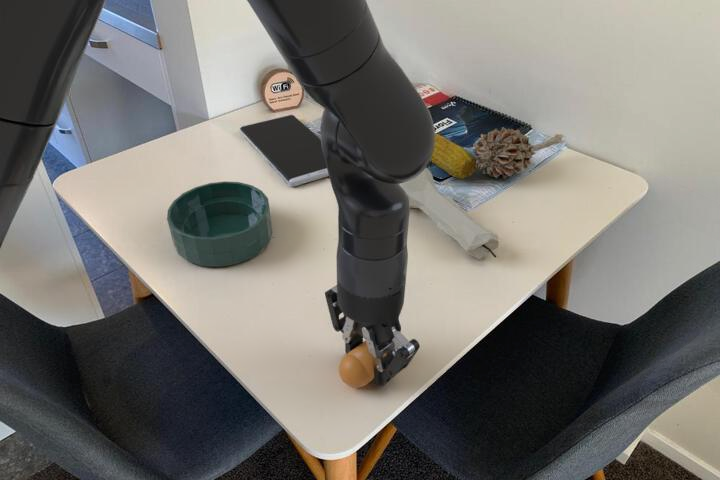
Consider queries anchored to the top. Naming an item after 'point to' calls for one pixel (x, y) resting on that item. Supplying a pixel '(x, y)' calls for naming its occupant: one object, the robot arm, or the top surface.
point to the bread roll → (357, 366)
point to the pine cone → (506, 151)
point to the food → (452, 158)
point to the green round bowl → (220, 223)
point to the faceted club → (449, 216)
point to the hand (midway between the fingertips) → (368, 369)
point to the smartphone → (288, 148)
